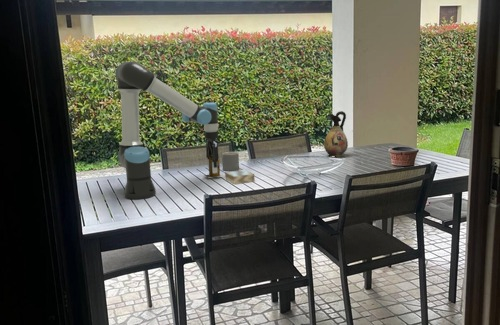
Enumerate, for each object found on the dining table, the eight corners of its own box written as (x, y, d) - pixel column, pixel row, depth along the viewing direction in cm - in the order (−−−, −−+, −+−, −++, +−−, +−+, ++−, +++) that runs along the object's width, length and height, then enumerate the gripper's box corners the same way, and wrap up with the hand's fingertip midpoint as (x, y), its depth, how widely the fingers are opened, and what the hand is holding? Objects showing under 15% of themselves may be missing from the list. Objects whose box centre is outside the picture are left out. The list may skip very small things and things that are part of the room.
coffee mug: (241, 170, 270) (240, 153, 268) (225, 172, 267) (224, 155, 265) (234, 166, 283) (233, 150, 281) (218, 167, 279) (218, 151, 277)
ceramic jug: (329, 159, 294) (329, 113, 287) (320, 154, 308) (320, 110, 302) (353, 157, 297) (354, 111, 291) (344, 153, 312) (344, 109, 305)
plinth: (233, 184, 239) (233, 176, 238) (225, 179, 250) (225, 172, 249) (254, 181, 244) (254, 173, 243) (245, 176, 254) (245, 169, 253)
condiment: (222, 176, 254) (222, 155, 252) (209, 178, 250) (208, 157, 247) (216, 173, 260) (215, 153, 258) (203, 176, 255) (202, 155, 253)
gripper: (223, 132, 243) (225, 174, 247) (211, 128, 260) (213, 167, 264) (210, 133, 240) (212, 176, 244) (199, 129, 257) (201, 169, 261)
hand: (212, 171), depth 254 cm, fingers closed on condiment, 6 cm apart
